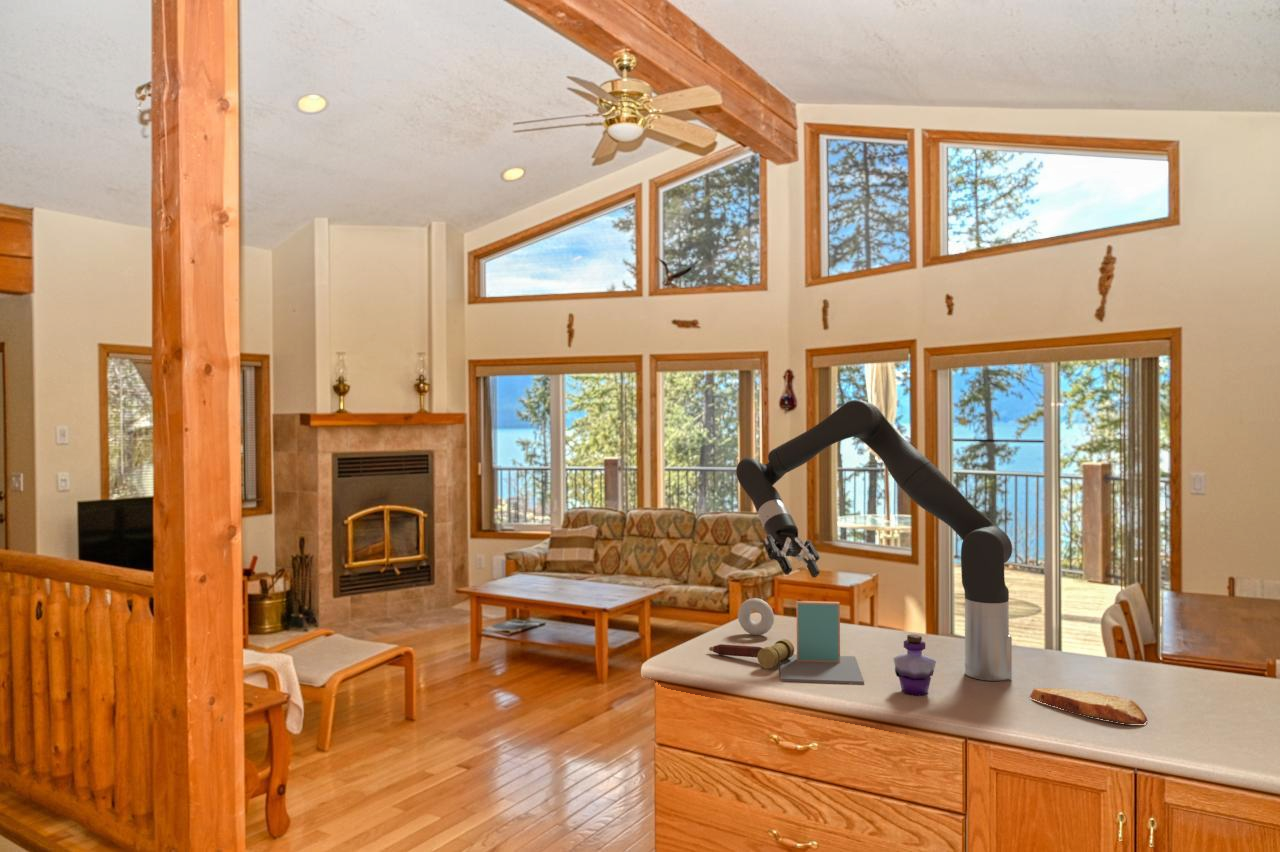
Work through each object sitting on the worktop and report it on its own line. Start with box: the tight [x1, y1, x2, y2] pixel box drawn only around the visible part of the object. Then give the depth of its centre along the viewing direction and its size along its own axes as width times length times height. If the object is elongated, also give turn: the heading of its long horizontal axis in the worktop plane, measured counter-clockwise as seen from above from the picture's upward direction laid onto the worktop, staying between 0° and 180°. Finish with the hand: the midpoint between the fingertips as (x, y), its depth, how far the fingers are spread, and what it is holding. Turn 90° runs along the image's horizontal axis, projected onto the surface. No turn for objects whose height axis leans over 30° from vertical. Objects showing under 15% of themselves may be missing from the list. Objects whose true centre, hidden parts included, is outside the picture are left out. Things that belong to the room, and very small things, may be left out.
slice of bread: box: [1029, 687, 1148, 724], centre depth 171 cm, size 18×18×4 cm
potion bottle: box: [892, 634, 937, 697], centre depth 183 cm, size 9×9×12 cm
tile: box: [796, 600, 841, 663], centre depth 204 cm, size 10×2×14 cm, turn 82°
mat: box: [779, 653, 865, 685], centre depth 199 cm, size 18×20×1 cm
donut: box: [737, 597, 775, 636], centre depth 231 cm, size 10×3×10 cm, turn 65°
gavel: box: [708, 638, 795, 669], centre depth 208 cm, size 21×5×10 cm
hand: (802, 574), depth 204 cm, fingers open, 8 cm apart
